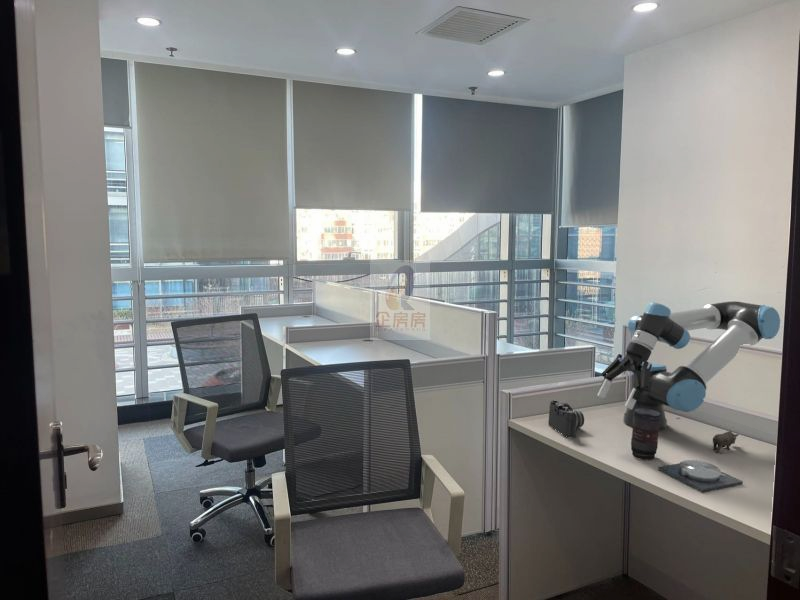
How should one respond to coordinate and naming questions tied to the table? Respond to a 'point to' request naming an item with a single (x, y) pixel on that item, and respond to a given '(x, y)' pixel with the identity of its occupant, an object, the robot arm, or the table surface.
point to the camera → (564, 418)
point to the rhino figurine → (723, 440)
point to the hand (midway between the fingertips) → (613, 402)
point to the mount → (700, 475)
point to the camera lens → (645, 433)
